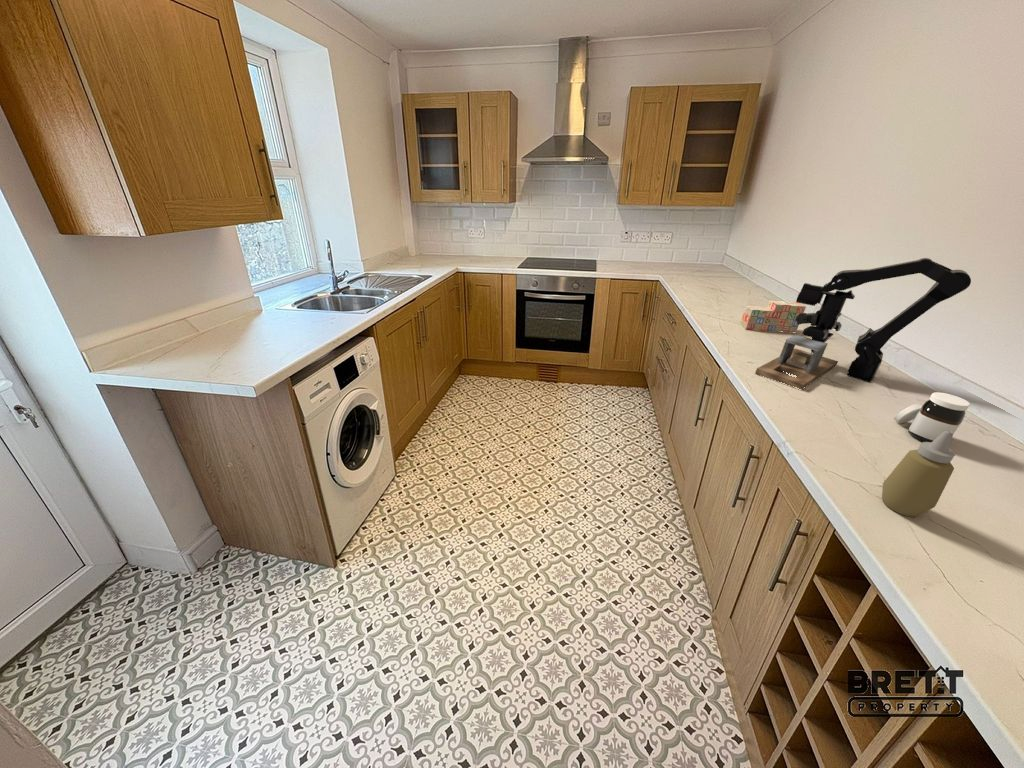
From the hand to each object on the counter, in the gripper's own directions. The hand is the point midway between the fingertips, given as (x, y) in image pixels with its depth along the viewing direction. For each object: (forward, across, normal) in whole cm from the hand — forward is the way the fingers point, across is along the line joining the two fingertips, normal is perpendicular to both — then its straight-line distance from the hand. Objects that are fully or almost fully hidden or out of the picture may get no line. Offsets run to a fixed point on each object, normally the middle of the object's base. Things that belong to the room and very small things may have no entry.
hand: (812, 351), depth 143 cm
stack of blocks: (+5, -28, -25) cm, 37 cm away
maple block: (+3, +11, 0) cm, 11 cm away
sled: (+2, +5, 0) cm, 5 cm away
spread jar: (+5, +28, +35) cm, 45 cm away
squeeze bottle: (+5, +68, +38) cm, 78 cm away
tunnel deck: (+5, +11, 0) cm, 12 cm away
